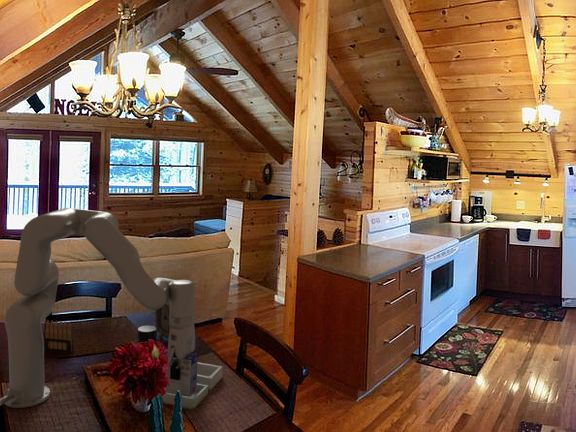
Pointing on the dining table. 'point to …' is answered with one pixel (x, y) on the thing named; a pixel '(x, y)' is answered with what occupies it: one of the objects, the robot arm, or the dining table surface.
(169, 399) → the parts tray
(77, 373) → the dining table surface
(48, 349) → the ammunition clip
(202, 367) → the tray
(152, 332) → the ink bottle
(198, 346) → the dining table surface
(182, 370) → the ink cartridge box
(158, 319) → the ring-top lantern
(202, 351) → the dining table surface
